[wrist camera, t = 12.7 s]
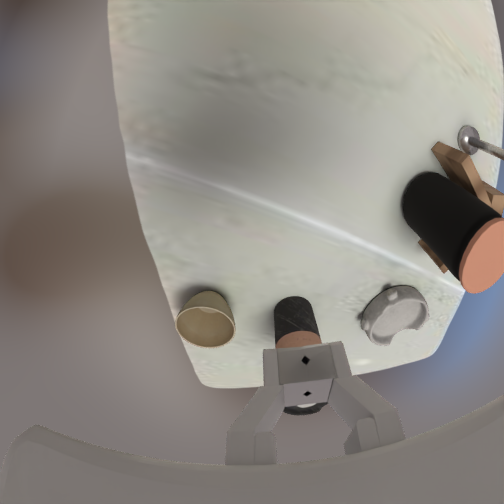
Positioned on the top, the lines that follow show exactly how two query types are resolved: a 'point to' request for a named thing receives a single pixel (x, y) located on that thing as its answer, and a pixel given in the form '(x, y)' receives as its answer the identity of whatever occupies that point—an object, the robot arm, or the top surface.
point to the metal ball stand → (476, 143)
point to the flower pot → (206, 321)
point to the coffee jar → (457, 230)
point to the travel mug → (296, 337)
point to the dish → (394, 314)
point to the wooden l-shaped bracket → (463, 184)
